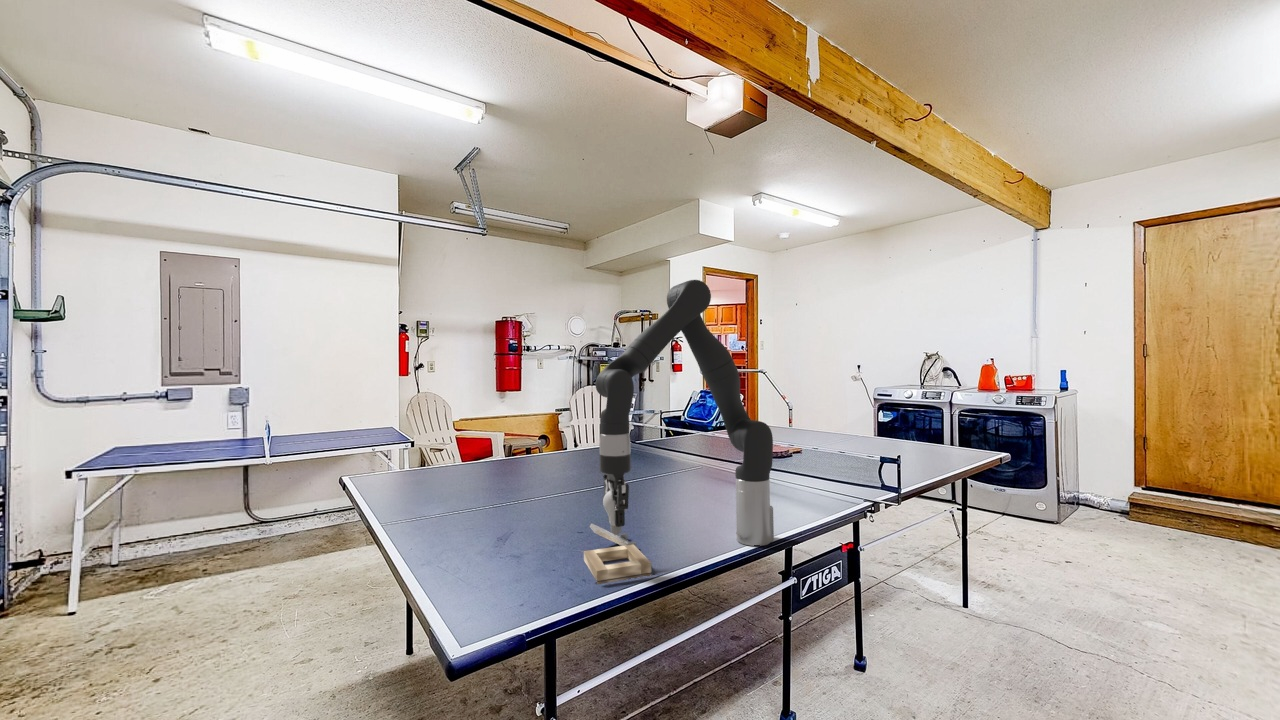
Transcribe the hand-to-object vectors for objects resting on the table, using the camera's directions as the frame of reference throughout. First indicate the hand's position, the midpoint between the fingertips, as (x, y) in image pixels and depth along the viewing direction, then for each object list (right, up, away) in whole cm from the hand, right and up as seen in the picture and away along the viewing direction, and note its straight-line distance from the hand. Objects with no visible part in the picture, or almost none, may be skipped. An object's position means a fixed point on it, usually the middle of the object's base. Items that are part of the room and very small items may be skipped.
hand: (615, 521), depth 119 cm
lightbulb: (0, -3, 0) cm, 3 cm away
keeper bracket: (+2, -12, +14) cm, 19 cm away
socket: (0, -11, 0) cm, 11 cm away
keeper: (-2, -9, +13) cm, 16 cm away
